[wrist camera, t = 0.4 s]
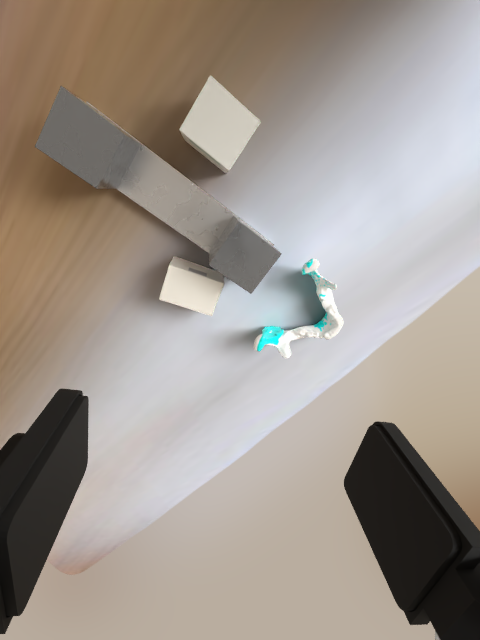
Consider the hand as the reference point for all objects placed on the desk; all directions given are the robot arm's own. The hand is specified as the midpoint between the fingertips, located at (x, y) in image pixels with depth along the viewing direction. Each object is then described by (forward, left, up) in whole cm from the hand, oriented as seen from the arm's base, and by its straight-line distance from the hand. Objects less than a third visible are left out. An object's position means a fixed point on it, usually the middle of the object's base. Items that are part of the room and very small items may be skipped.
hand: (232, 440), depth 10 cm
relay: (+4, -1, -28) cm, 28 cm away
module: (-10, -7, -28) cm, 30 cm away
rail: (-3, -7, -28) cm, 29 cm away
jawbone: (-1, +12, -28) cm, 31 cm away
